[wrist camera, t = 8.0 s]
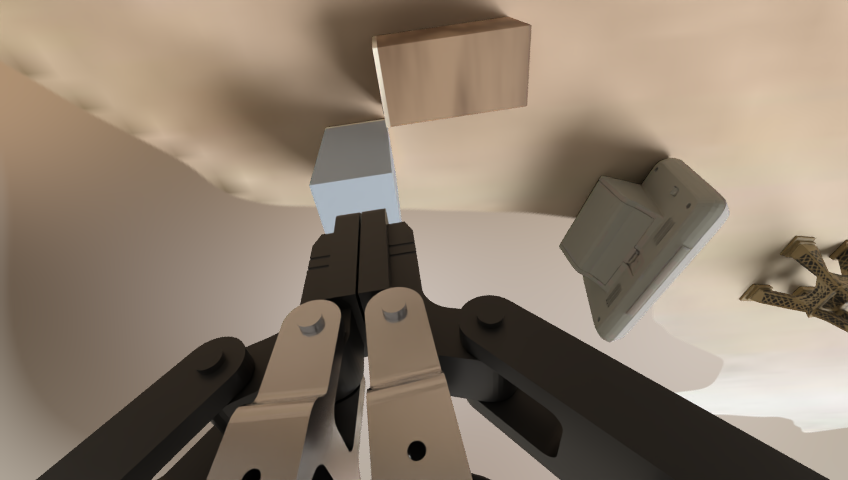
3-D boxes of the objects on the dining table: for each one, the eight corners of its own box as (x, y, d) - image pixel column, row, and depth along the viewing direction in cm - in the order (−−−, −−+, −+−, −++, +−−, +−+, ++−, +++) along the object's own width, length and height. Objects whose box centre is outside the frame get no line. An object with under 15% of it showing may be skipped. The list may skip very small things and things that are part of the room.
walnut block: (371, 36, 27) (507, 16, 27) (383, 106, 30) (506, 87, 30) (371, 48, 23) (531, 25, 23) (385, 127, 26) (527, 105, 26)
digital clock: (587, 281, 45) (638, 355, 36) (529, 259, 42) (570, 335, 33) (696, 169, 37) (794, 230, 29) (635, 132, 34) (725, 187, 25)
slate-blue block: (386, 118, 30) (391, 172, 22) (395, 173, 33) (403, 238, 25) (325, 127, 30) (309, 185, 22) (340, 181, 33) (331, 250, 25)
